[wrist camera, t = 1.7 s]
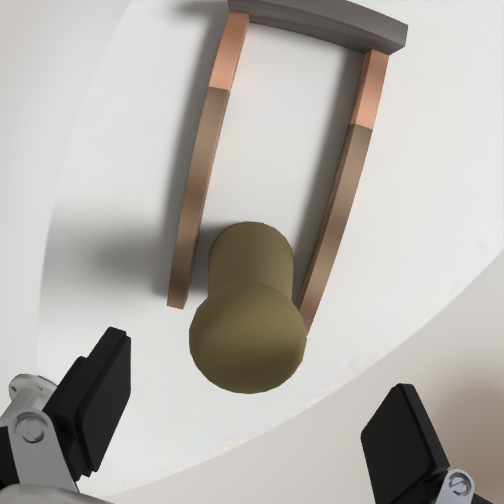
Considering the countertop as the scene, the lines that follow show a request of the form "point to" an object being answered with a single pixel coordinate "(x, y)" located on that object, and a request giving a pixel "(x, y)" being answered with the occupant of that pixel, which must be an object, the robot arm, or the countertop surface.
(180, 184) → the countertop surface
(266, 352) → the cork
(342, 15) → the guide channel
